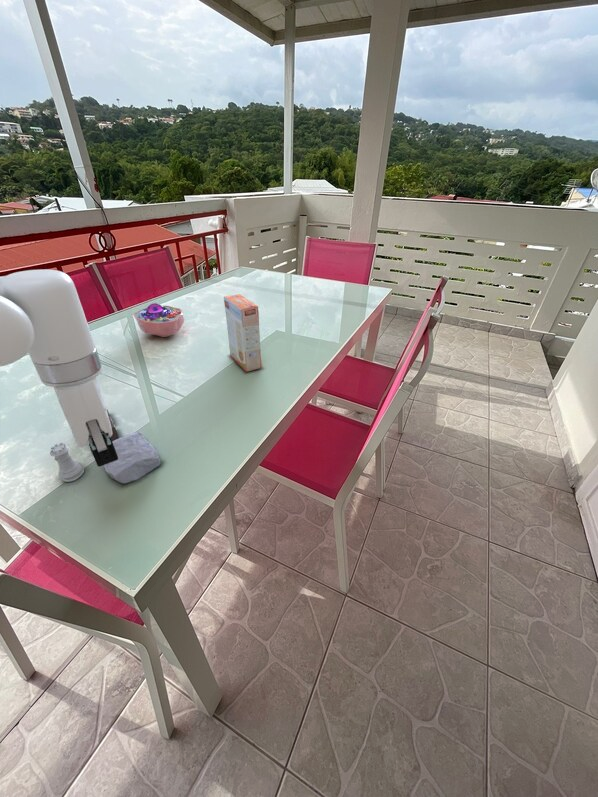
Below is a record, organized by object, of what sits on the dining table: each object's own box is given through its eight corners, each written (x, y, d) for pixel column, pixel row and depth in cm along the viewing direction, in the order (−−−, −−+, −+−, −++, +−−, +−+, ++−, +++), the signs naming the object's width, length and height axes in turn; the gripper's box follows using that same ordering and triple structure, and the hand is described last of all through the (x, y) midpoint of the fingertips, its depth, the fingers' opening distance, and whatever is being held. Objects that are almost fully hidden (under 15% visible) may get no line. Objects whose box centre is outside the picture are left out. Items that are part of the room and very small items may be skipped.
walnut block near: (98, 451, 75) (90, 435, 72) (94, 439, 79) (86, 423, 76) (121, 443, 78) (114, 426, 75) (116, 431, 81) (110, 415, 78)
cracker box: (262, 368, 108) (259, 305, 96) (245, 373, 105) (239, 309, 93) (245, 351, 118) (240, 292, 106) (229, 355, 115) (222, 295, 103)
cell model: (150, 348, 119) (142, 318, 112) (133, 331, 132) (125, 303, 125) (194, 336, 128) (189, 308, 121) (175, 321, 140) (169, 294, 134)
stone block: (123, 494, 68) (166, 463, 72) (111, 480, 65) (156, 449, 69) (104, 465, 75) (144, 438, 79) (92, 451, 72) (134, 424, 76)
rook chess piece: (55, 481, 68) (38, 453, 64) (71, 465, 72) (56, 438, 67) (75, 484, 68) (59, 456, 63) (89, 468, 71) (75, 440, 67)
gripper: (34, 351, 49) (76, 444, 59) (41, 396, 39) (90, 499, 49) (90, 341, 53) (121, 430, 63) (110, 379, 43) (142, 478, 53)
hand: (107, 460), depth 56 cm, fingers closed
